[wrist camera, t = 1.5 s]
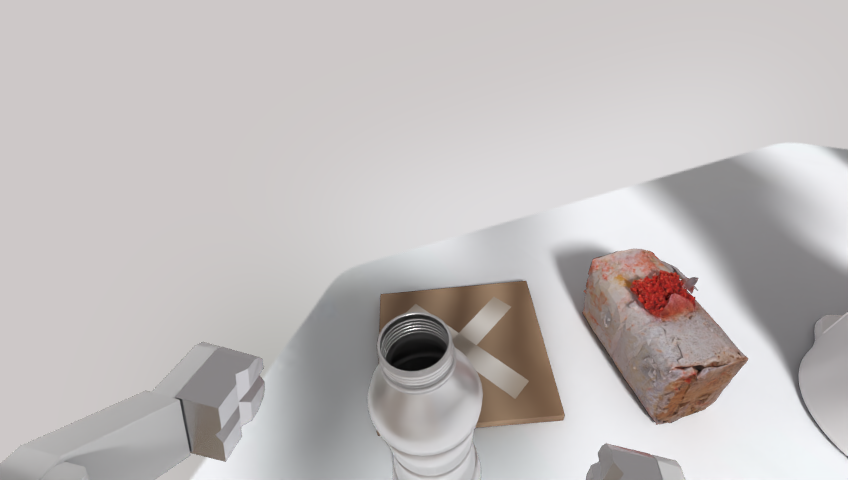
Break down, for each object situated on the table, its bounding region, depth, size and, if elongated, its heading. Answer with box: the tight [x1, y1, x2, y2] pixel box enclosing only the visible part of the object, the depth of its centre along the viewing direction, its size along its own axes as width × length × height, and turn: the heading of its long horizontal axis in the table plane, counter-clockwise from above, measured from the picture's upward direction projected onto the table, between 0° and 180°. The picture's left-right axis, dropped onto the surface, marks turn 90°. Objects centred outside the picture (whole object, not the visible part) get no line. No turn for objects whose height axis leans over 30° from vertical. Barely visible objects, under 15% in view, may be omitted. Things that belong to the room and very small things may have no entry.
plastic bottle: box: [367, 312, 483, 480], centre depth 28 cm, size 6×7×20 cm
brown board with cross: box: [376, 281, 565, 436], centre depth 43 cm, size 16×15×1 cm
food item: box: [583, 249, 748, 425], centre depth 39 cm, size 14×8×10 cm, turn 15°
